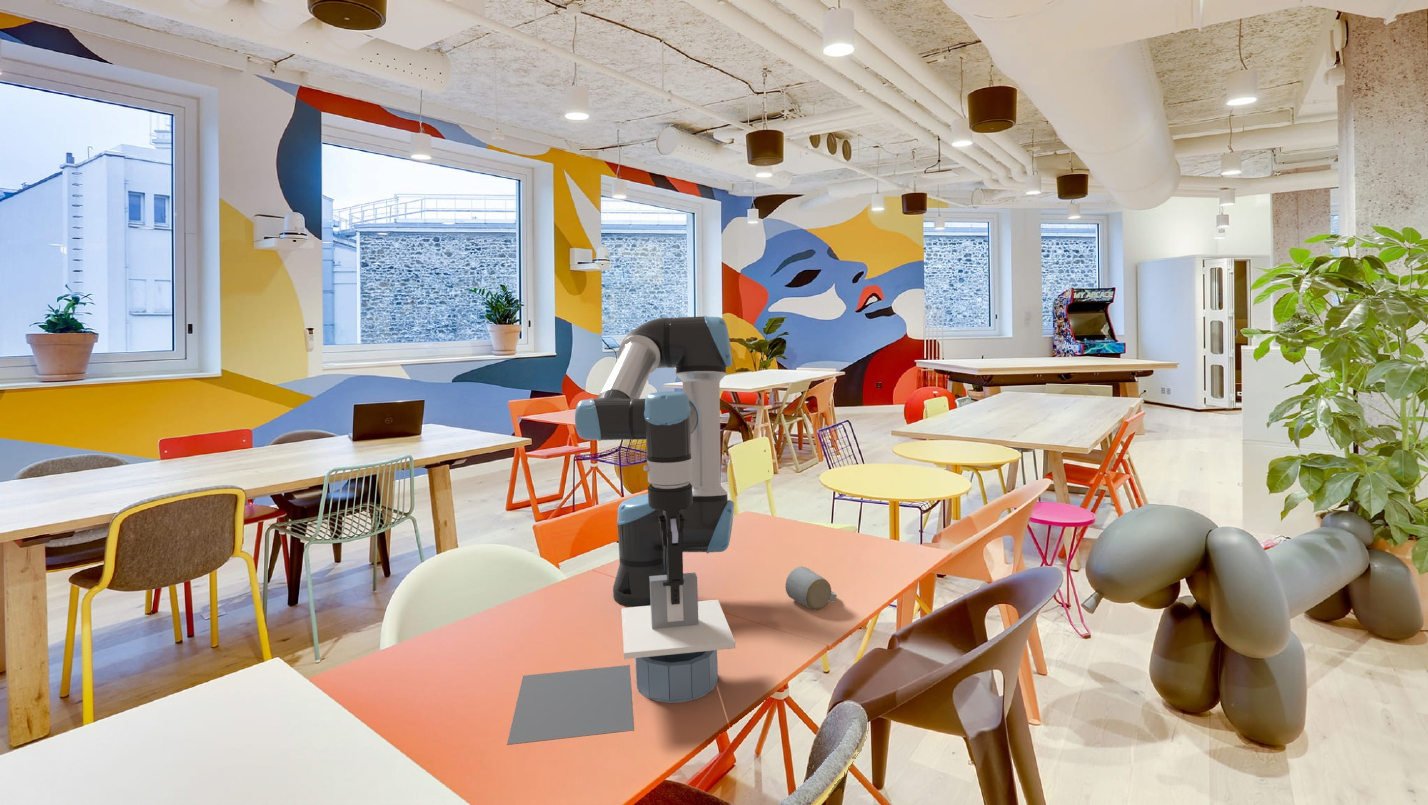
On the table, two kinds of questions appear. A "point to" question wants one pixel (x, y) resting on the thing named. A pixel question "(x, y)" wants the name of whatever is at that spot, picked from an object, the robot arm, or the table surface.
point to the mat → (573, 704)
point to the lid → (674, 624)
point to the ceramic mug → (809, 588)
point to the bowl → (677, 676)
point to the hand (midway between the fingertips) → (674, 616)
